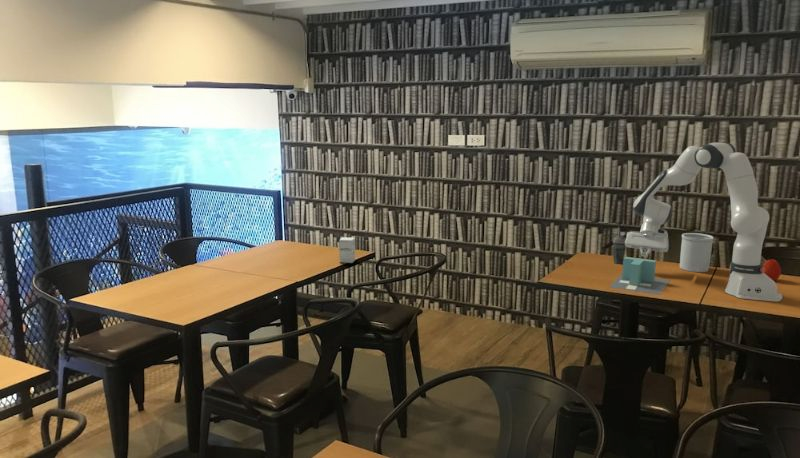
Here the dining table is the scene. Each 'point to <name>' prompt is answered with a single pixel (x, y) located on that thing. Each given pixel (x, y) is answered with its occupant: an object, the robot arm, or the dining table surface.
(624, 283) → the slate board
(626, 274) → the tee block
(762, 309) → the dining table surface
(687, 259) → the utensil holder
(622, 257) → the beverage cup
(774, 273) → the apple
